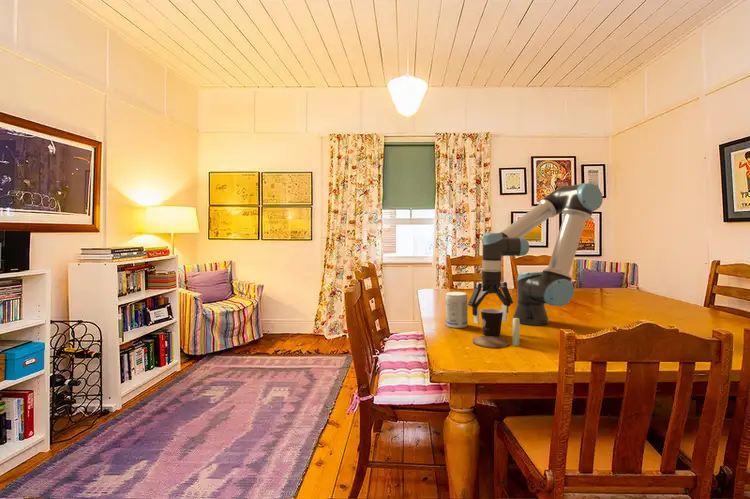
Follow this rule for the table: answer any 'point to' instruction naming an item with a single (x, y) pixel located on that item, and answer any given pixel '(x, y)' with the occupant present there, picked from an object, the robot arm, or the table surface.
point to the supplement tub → (456, 309)
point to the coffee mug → (491, 322)
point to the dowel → (516, 331)
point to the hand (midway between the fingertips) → (490, 322)
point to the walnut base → (490, 342)
